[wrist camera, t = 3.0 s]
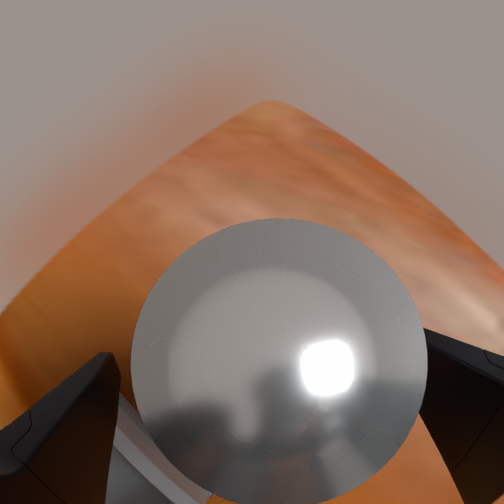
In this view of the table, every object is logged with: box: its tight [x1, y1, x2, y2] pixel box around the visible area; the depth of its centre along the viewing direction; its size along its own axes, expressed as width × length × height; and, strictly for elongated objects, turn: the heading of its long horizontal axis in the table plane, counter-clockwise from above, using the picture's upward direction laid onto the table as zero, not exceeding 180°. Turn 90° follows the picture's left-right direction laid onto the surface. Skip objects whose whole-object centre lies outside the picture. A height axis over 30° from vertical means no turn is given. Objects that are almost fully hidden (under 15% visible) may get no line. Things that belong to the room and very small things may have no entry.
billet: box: [131, 219, 427, 504], centre depth 10 cm, size 5×5×12 cm
